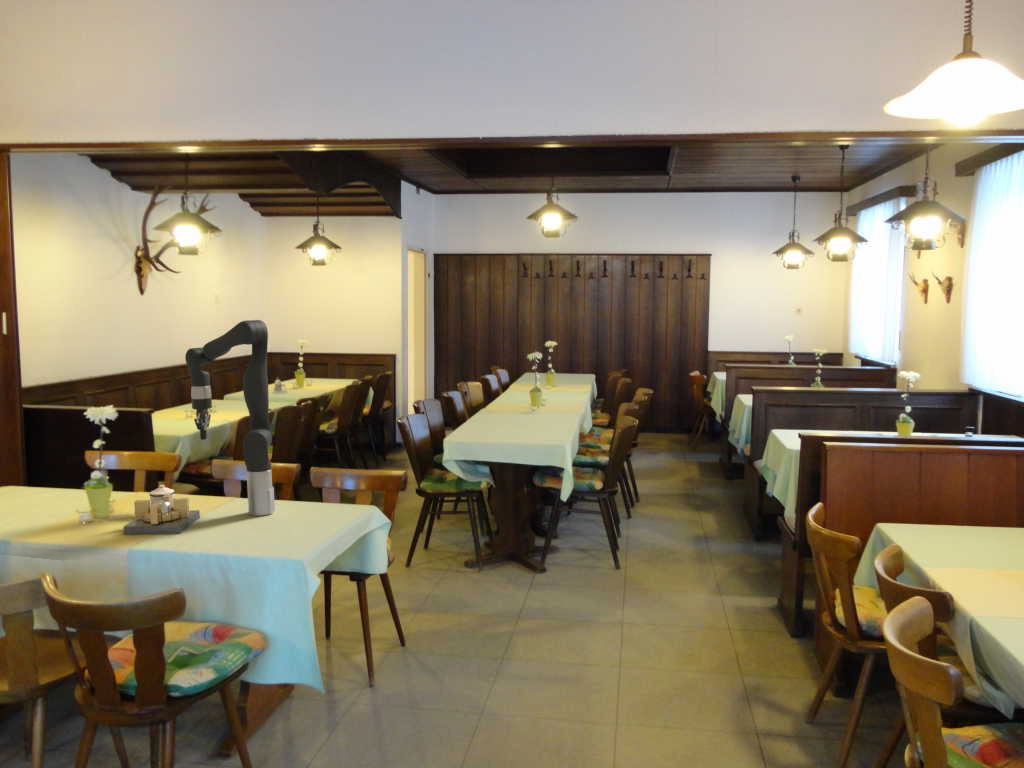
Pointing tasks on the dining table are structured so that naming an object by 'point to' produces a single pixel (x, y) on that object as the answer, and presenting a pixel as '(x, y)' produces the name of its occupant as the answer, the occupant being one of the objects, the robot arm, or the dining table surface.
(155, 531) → the gray flat tray
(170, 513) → the tan blocky ring
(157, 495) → the teacup with lid
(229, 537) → the dining table surface
